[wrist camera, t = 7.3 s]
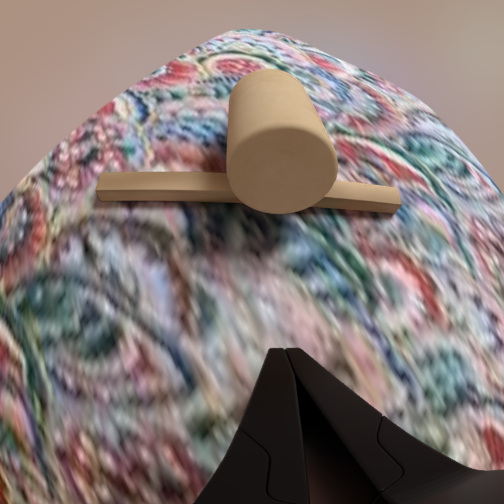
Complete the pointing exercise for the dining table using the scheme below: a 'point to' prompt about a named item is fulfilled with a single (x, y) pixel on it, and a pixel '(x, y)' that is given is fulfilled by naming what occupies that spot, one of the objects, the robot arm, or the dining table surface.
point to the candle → (277, 145)
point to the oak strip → (219, 190)
